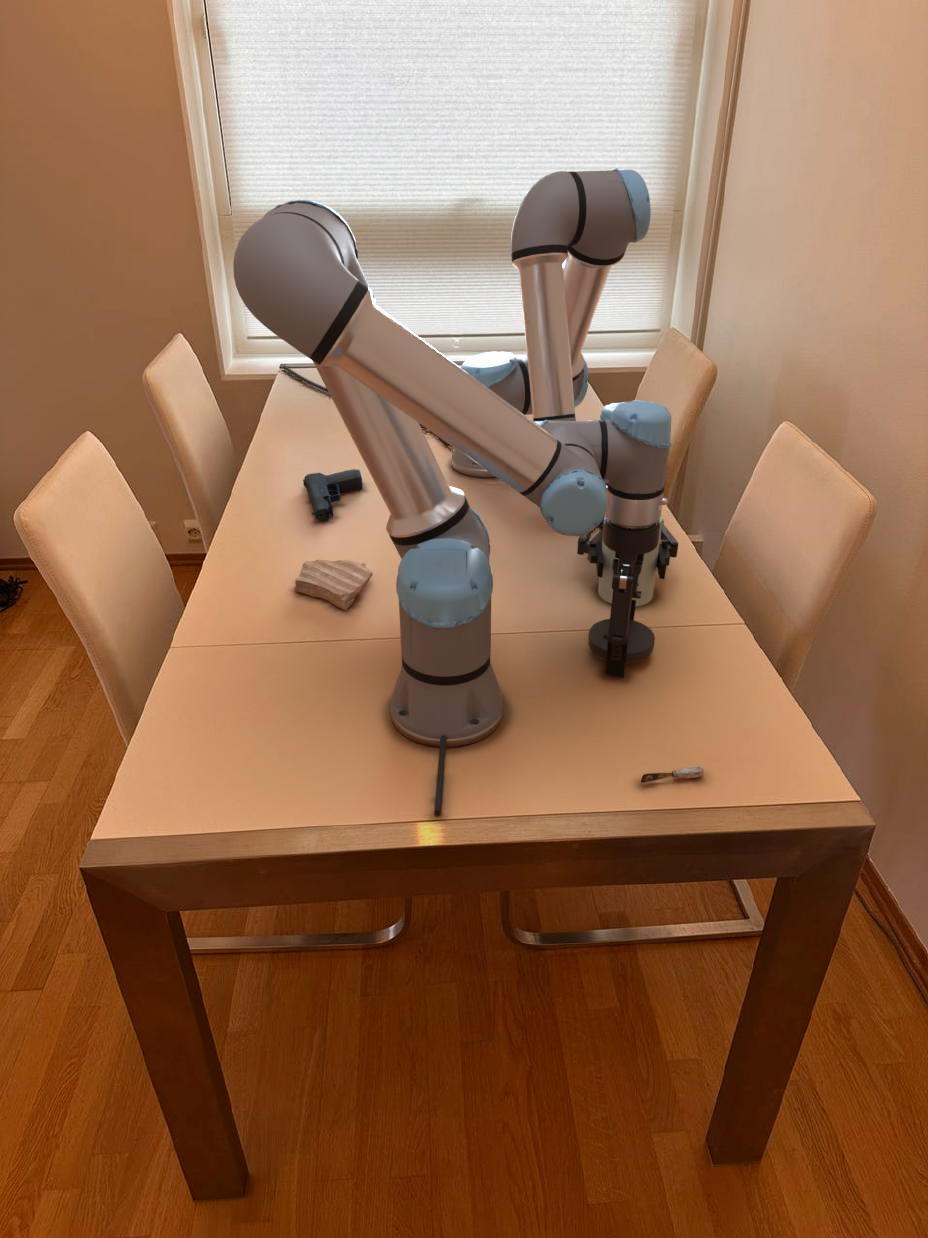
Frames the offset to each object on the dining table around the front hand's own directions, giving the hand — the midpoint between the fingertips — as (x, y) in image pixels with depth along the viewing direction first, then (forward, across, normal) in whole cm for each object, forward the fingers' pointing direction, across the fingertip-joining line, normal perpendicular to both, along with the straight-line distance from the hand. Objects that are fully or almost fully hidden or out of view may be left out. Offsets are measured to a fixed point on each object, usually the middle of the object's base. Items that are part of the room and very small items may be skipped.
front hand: (619, 655), depth 132 cm
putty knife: (0, -26, -10) cm, 27 cm away
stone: (0, +7, +48) cm, 49 cm away
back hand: (-7, +14, 0) cm, 16 cm away
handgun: (0, +40, +61) cm, 73 cm away
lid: (-3, 0, 0) cm, 3 cm away
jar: (0, +19, +1) cm, 19 cm away
